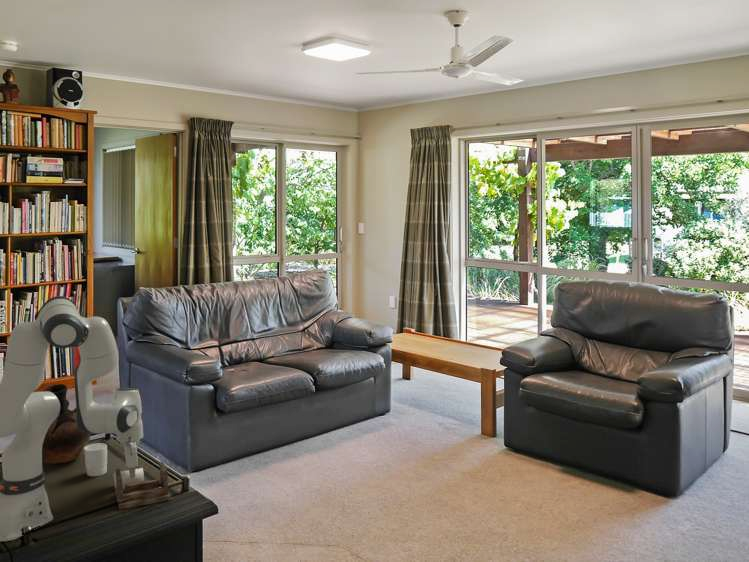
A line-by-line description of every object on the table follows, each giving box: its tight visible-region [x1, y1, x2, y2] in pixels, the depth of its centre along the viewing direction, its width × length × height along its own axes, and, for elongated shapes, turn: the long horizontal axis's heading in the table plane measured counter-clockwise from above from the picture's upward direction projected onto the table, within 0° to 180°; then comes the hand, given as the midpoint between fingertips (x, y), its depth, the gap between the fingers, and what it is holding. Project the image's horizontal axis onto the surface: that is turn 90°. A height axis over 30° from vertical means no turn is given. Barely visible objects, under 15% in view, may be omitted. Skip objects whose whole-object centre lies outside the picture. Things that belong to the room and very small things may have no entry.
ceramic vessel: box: [42, 383, 91, 464], centre depth 262 cm, size 21×18×30 cm
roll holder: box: [114, 461, 171, 510], centre depth 230 cm, size 16×13×10 cm
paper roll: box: [113, 467, 145, 490], centre depth 240 cm, size 10×6×6 cm, turn 115°
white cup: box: [83, 442, 108, 477], centre depth 251 cm, size 8×8×10 cm
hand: (132, 471), depth 238 cm, fingers open, 8 cm apart
